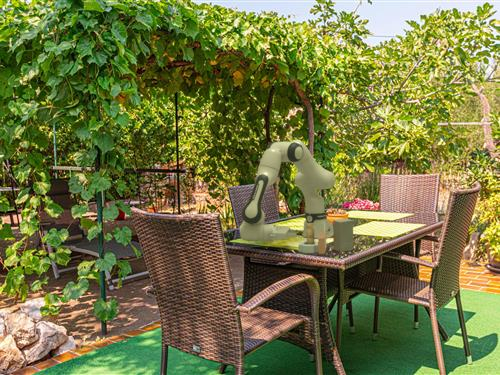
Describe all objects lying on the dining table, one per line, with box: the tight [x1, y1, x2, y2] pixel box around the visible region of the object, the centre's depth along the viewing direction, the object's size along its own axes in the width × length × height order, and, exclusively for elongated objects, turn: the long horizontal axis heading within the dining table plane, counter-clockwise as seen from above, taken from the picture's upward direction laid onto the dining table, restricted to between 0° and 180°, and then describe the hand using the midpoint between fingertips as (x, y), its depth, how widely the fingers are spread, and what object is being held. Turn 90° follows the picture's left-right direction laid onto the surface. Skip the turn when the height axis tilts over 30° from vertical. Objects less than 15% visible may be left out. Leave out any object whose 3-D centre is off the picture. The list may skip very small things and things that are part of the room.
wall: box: [317, 232, 327, 255], centre depth 257 cm, size 3×18×8 cm, turn 169°
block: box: [298, 240, 318, 254], centre depth 259 cm, size 10×14×4 cm
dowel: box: [306, 223, 316, 244], centre depth 258 cm, size 4×4×14 cm
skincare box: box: [332, 218, 354, 253], centre depth 257 cm, size 8×7×16 cm
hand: (297, 233), depth 259 cm, fingers open, 8 cm apart
